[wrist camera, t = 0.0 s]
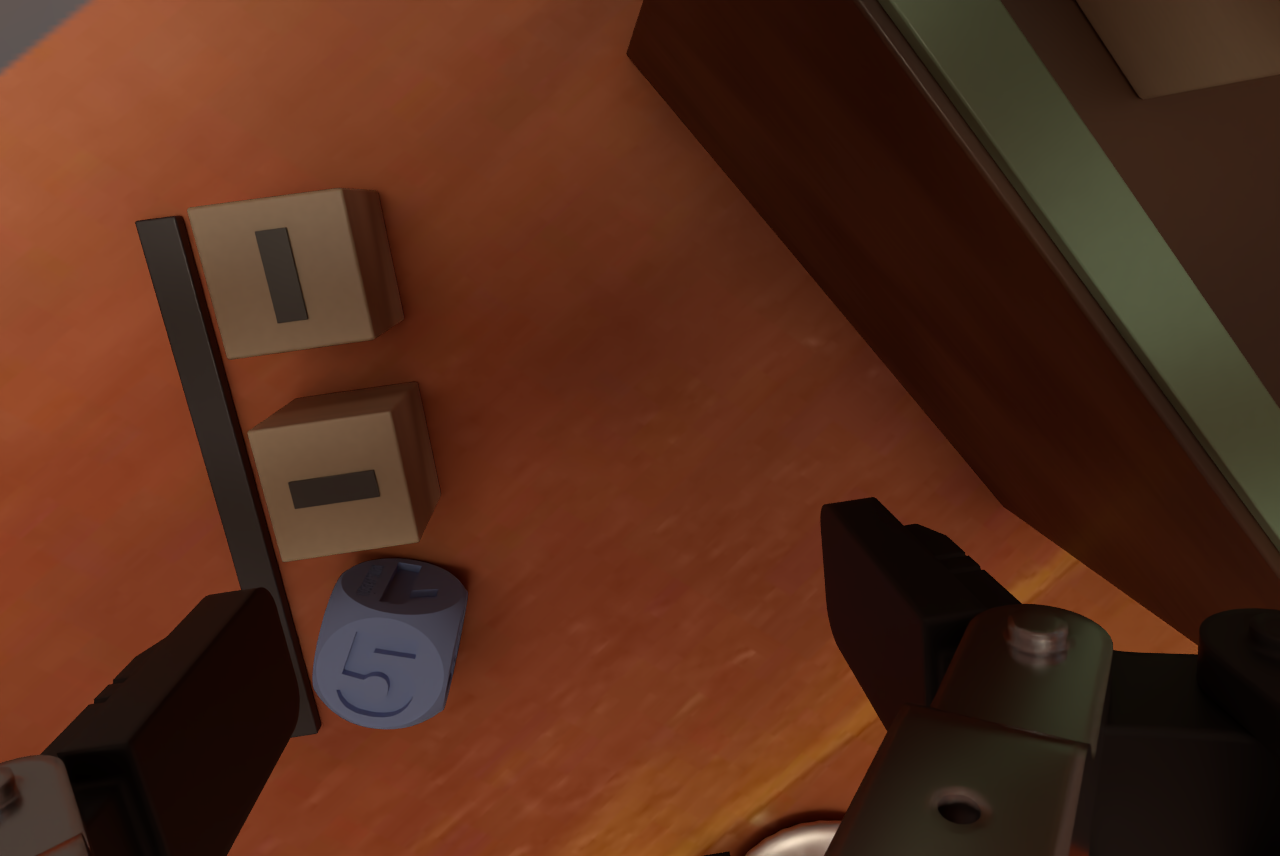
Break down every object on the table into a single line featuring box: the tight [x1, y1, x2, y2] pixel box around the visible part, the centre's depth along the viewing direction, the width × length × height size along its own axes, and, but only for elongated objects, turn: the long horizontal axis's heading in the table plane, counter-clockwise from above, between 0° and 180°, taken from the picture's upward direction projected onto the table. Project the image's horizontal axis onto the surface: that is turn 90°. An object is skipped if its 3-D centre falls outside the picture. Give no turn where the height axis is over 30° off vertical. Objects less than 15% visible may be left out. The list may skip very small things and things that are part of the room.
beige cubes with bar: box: [135, 188, 441, 738], centre depth 25 cm, size 18×7×4 cm, turn 7°
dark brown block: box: [626, 0, 1280, 645], centre depth 17 cm, size 20×8×20 cm, turn 42°
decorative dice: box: [313, 558, 468, 729], centre depth 27 cm, size 4×4×4 cm
